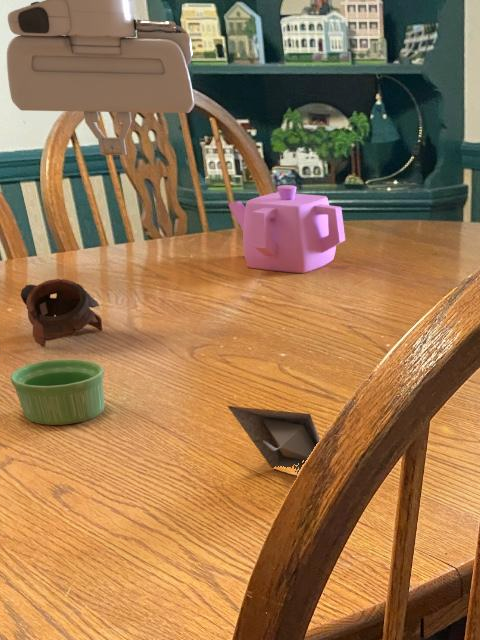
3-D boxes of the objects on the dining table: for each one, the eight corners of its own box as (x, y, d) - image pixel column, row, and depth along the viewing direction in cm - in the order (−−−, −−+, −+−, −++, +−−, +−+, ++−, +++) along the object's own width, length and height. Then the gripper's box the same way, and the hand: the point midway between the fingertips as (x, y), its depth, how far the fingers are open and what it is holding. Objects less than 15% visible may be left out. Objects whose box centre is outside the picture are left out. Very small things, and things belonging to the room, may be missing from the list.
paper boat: (369, 448, 87) (350, 462, 78) (332, 501, 89) (310, 520, 80) (265, 372, 86) (235, 377, 77) (230, 427, 88) (196, 438, 79)
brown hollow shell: (125, 334, 121) (108, 287, 114) (81, 382, 117) (60, 337, 110) (53, 300, 123) (31, 252, 116) (6, 346, 119) (-19, 299, 112)
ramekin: (102, 426, 93) (94, 385, 90) (10, 429, 92) (-1, 387, 89) (116, 396, 100) (109, 357, 98) (31, 399, 99) (21, 359, 97)
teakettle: (259, 277, 148) (252, 195, 141) (230, 256, 161) (223, 180, 154) (355, 269, 155) (353, 190, 148) (321, 249, 167) (317, 176, 161)
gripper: (189, 21, 106) (202, 152, 114) (2, 15, 102) (28, 150, 110) (188, 21, 101) (202, 158, 108) (-9, 14, 97) (20, 157, 104)
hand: (113, 154), depth 109 cm, fingers closed
